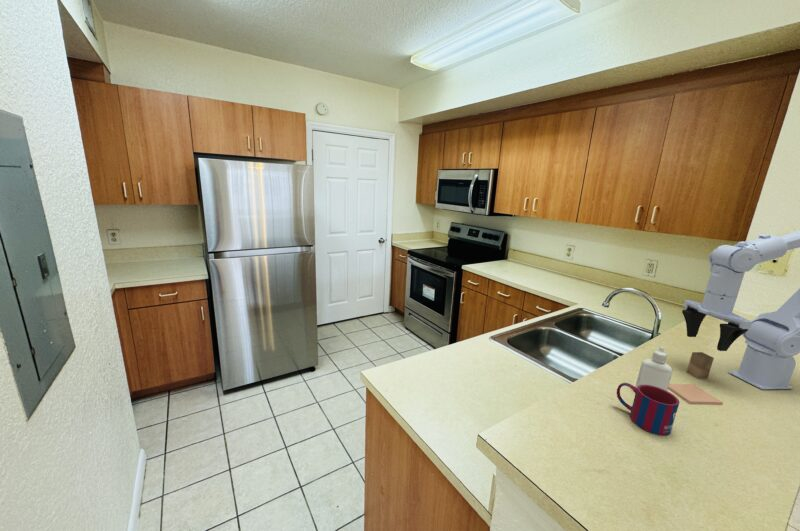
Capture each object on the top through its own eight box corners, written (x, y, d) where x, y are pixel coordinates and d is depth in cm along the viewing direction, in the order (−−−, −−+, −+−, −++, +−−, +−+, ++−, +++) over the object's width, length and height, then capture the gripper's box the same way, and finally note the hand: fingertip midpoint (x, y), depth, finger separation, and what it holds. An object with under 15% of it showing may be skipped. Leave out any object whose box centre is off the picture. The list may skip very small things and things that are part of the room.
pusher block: (695, 372, 88) (702, 352, 86) (707, 378, 85) (713, 357, 84) (686, 372, 87) (692, 352, 86) (697, 378, 84) (704, 357, 83)
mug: (661, 440, 61) (670, 409, 60) (607, 409, 70) (613, 381, 68) (676, 428, 65) (685, 399, 63) (622, 400, 73) (629, 373, 72)
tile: (694, 384, 81) (663, 383, 80) (723, 402, 74) (690, 401, 73) (693, 388, 81) (662, 387, 80) (721, 406, 74) (688, 406, 73)
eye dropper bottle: (657, 402, 73) (671, 354, 70) (631, 388, 78) (643, 343, 75) (668, 398, 75) (681, 351, 72) (641, 385, 80) (653, 340, 77)
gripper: (679, 284, 87) (666, 331, 90) (740, 303, 73) (723, 357, 76) (701, 285, 88) (688, 331, 91) (766, 303, 74) (748, 357, 77)
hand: (705, 343), depth 84 cm, fingers open, 7 cm apart
